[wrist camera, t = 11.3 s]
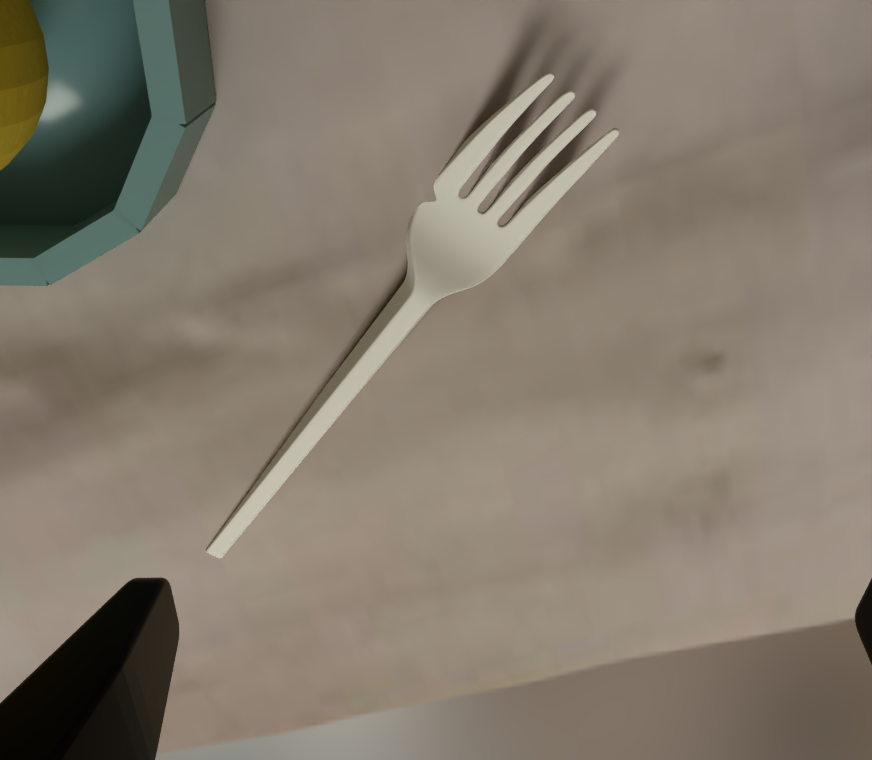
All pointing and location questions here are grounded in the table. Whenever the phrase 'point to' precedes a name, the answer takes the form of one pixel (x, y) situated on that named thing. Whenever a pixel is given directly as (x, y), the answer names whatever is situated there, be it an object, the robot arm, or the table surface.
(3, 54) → the lemon
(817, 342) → the table surface
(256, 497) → the fork
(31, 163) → the bowl
